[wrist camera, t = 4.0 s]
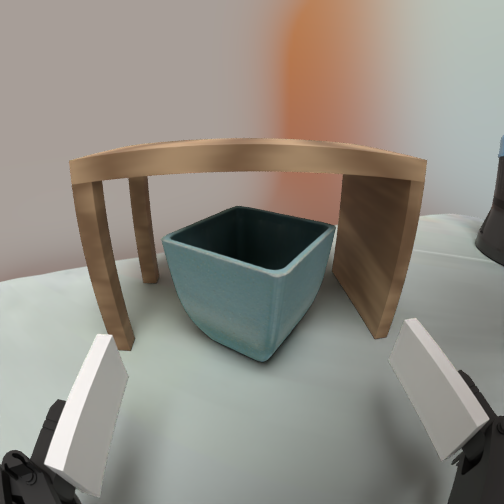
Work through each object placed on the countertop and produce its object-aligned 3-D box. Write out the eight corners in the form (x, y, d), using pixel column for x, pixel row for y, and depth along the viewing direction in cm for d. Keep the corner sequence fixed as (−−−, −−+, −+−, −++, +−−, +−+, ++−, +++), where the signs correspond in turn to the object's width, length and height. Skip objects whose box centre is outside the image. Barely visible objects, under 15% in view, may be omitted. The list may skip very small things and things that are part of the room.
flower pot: (273, 394, 17) (283, 275, 13) (175, 343, 21) (157, 236, 17) (323, 323, 23) (338, 224, 20) (238, 294, 28) (237, 204, 24)
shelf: (341, 270, 32) (355, 144, 26) (386, 337, 21) (426, 160, 15) (146, 276, 30) (131, 145, 24) (113, 349, 19) (69, 160, 13)
